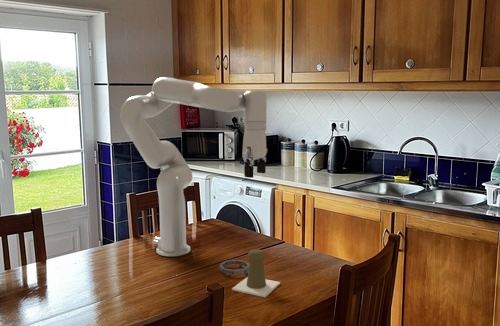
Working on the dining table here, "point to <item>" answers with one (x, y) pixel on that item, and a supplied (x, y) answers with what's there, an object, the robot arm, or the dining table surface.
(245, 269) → the ring stand
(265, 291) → the plate
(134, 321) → the dining table surface
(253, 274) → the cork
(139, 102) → the robot arm
